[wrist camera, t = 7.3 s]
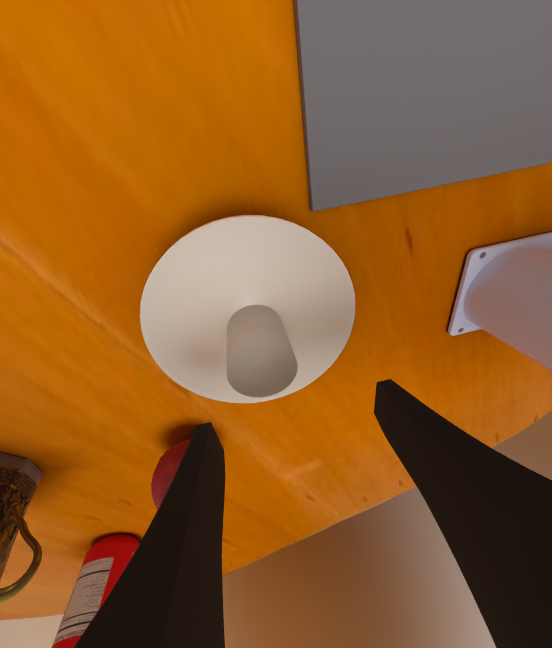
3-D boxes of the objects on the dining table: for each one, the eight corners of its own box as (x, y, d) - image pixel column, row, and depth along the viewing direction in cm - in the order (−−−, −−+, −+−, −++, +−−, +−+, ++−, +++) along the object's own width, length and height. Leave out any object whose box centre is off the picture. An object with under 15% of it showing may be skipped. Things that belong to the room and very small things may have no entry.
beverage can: (98, 555, 34) (43, 715, 24) (84, 536, 31) (15, 711, 21) (147, 547, 35) (115, 696, 25) (138, 528, 32) (98, 689, 22)
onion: (150, 431, 24) (120, 535, 17) (208, 412, 24) (200, 509, 17) (179, 462, 27) (163, 560, 20) (230, 445, 27) (231, 537, 20)
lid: (351, 192, 12) (405, 199, 8) (350, 373, 18) (380, 422, 15) (96, 242, 11) (35, 274, 8) (188, 413, 18) (178, 474, 14)
